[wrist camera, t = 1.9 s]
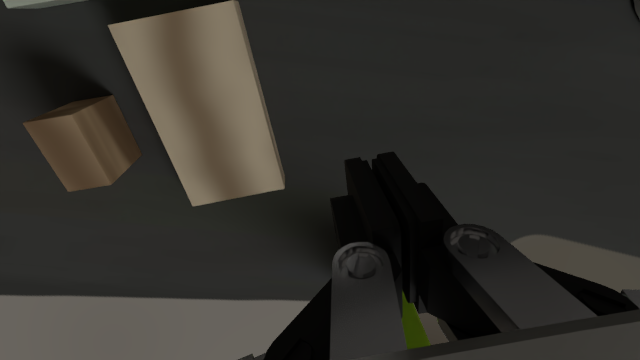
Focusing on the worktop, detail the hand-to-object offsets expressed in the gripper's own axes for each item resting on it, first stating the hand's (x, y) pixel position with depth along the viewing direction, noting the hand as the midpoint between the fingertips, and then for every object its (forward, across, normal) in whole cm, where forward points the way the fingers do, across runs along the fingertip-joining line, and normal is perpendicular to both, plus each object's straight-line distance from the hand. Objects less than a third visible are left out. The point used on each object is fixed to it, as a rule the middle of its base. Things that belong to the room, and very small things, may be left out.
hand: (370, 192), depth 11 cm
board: (+16, +9, 0) cm, 18 cm away
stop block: (+15, +17, 0) cm, 23 cm away
